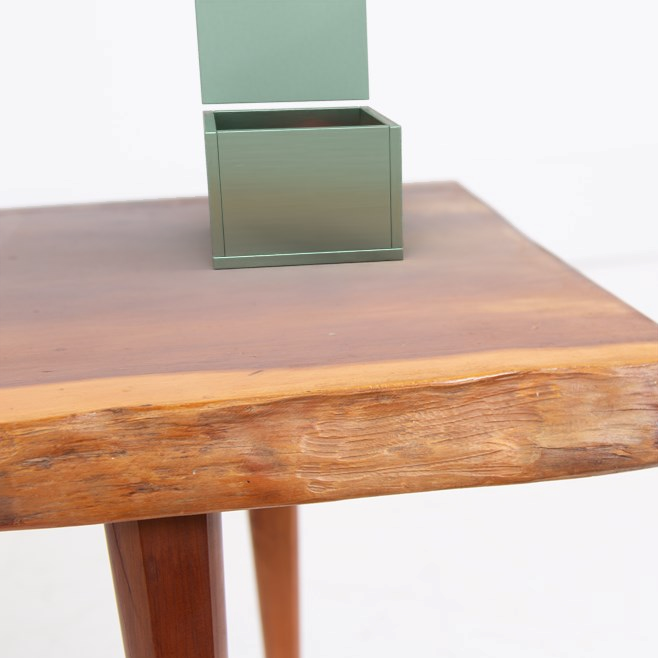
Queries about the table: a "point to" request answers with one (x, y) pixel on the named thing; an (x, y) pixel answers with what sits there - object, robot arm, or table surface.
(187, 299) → the table surface
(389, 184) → the box
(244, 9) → the lid
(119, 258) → the table surface
